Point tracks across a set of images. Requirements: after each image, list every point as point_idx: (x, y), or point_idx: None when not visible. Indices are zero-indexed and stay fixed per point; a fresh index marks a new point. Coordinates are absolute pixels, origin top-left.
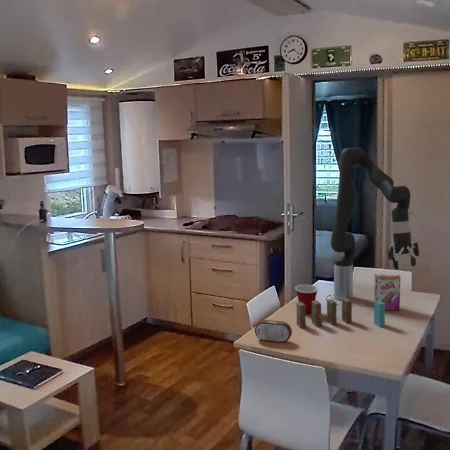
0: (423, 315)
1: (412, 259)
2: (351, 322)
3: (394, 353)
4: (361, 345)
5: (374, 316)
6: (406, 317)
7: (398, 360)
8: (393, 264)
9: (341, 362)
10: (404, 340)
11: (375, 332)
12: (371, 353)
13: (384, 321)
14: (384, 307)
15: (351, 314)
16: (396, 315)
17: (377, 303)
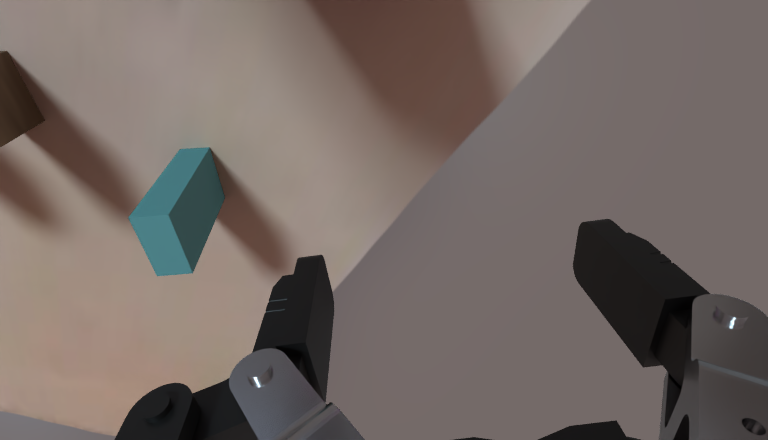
0: (482, 90)
1: (634, 328)
2: (41, 121)
3: (202, 383)
4: (99, 338)
5: (168, 169)
6: (381, 100)
7: None
8: (267, 324)
9: (35, 413)
10: None
11: None
12: (131, 380)
13: (218, 211)
14: (197, 258)
15: (9, 141)
16: (342, 53)
17: (147, 252)
